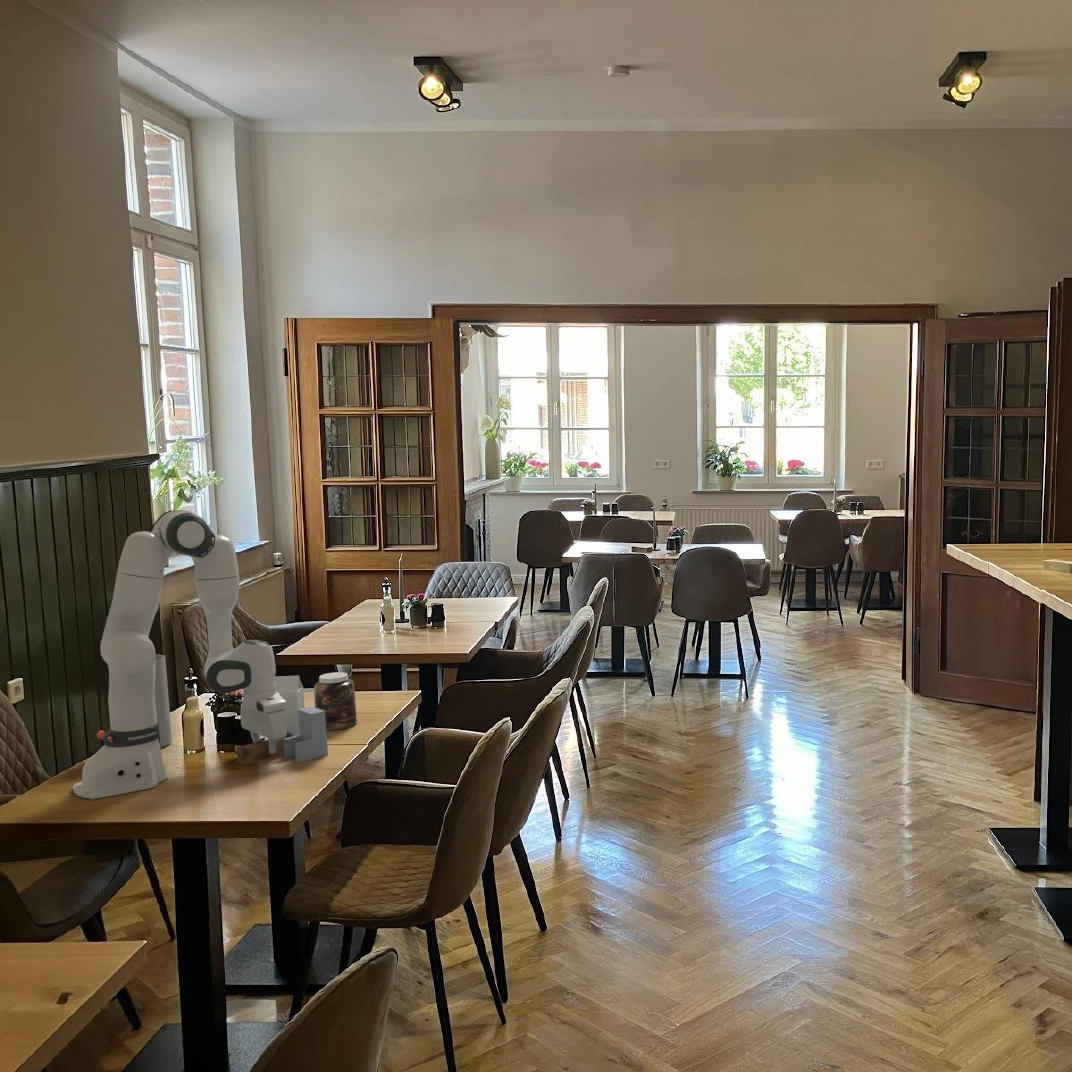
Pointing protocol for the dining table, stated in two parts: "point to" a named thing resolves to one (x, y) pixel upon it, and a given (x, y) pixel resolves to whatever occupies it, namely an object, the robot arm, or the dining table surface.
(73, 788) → the robot arm
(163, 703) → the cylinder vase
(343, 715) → the jar
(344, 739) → the dining table surface
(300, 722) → the blue l-shaped block
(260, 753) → the rail
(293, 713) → the milk carton
